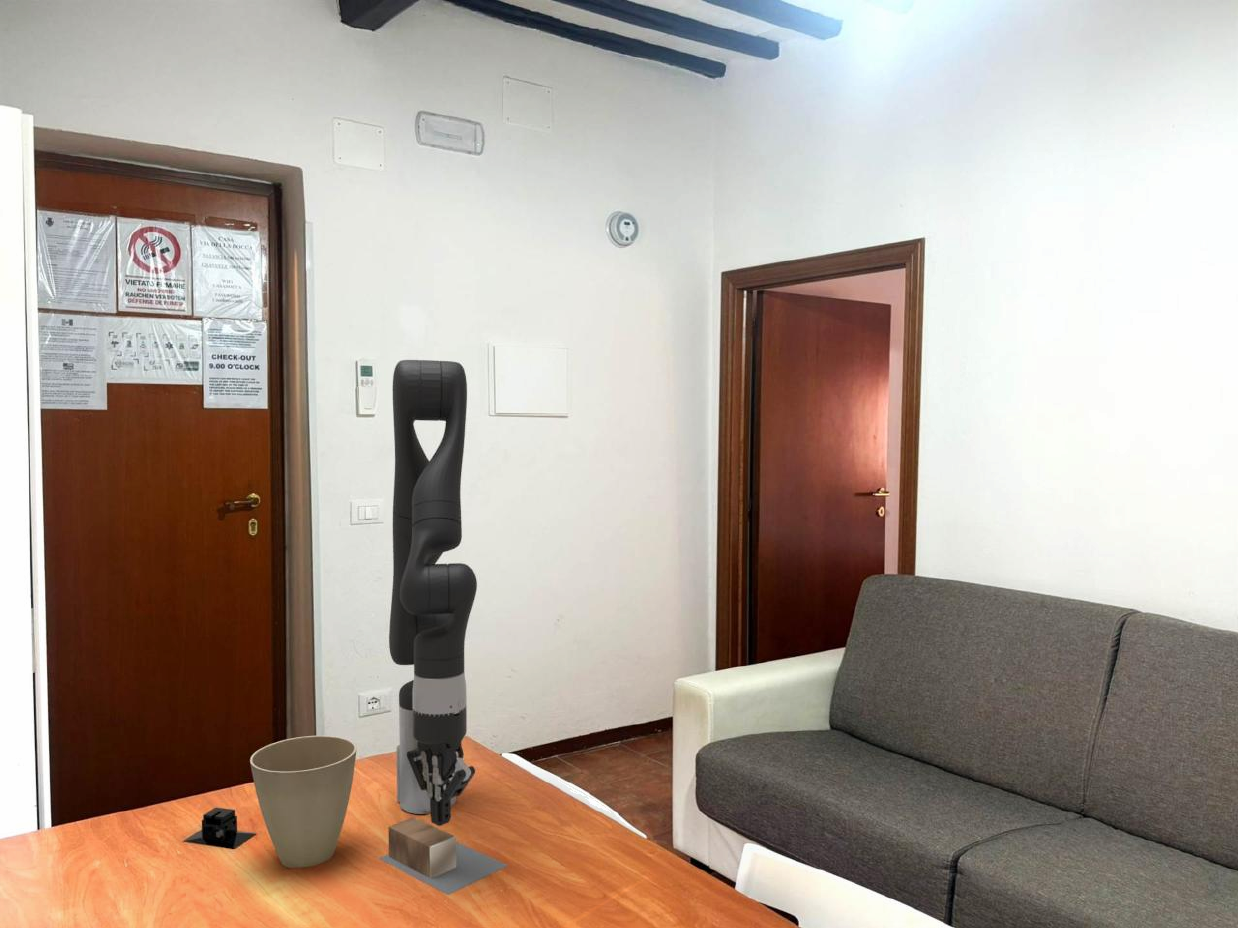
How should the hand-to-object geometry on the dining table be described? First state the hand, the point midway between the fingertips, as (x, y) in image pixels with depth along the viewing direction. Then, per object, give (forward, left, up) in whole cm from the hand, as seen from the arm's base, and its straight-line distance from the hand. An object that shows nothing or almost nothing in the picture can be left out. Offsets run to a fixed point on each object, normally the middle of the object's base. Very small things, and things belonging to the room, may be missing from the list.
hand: (440, 822), depth 136 cm
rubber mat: (-2, +2, -7) cm, 8 cm away
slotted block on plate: (-35, -15, -8) cm, 39 cm away
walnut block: (+1, 0, -5) cm, 5 cm away
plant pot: (-19, -10, -8) cm, 23 cm away
